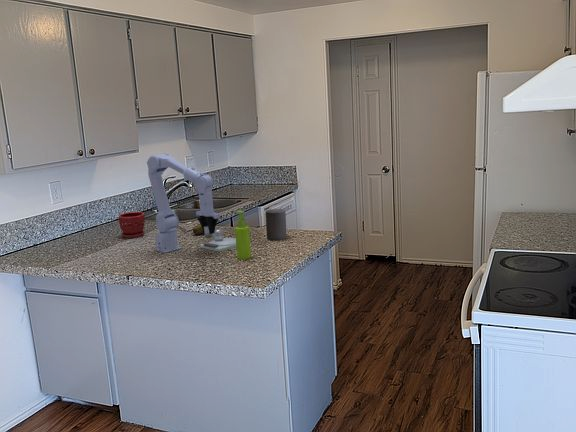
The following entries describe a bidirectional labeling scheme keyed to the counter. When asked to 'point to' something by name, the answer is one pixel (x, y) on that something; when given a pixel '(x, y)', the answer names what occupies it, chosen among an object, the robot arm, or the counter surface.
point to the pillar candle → (276, 224)
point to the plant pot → (132, 224)
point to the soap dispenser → (242, 238)
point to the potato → (198, 229)
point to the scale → (220, 244)
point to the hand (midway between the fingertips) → (209, 232)
